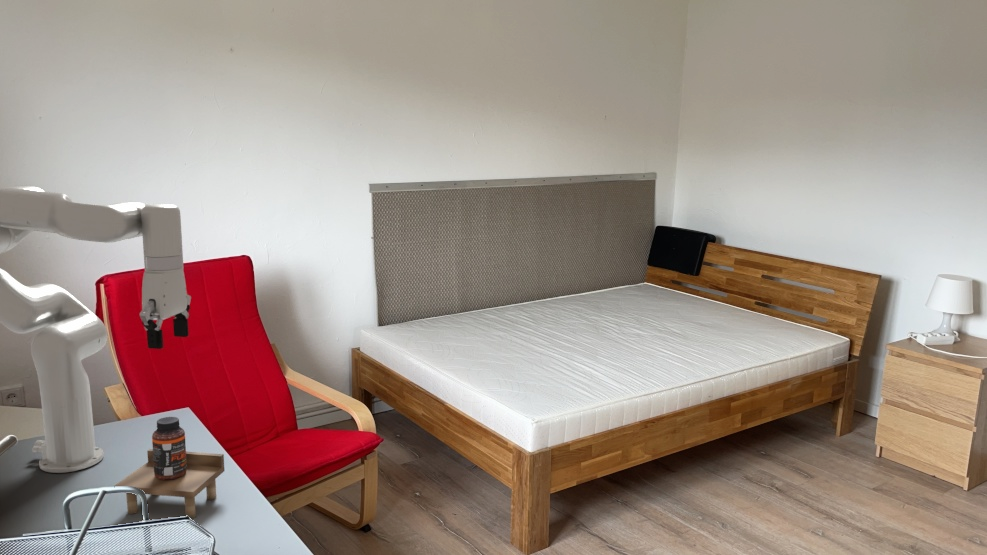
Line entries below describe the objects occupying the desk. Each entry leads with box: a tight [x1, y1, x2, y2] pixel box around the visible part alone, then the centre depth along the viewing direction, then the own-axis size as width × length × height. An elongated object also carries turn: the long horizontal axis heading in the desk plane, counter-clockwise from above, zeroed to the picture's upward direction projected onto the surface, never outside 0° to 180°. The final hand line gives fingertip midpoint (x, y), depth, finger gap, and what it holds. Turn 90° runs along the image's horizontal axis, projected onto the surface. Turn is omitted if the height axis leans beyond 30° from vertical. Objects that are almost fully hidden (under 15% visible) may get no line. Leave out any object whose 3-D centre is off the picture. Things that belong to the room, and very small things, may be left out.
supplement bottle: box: [151, 416, 187, 480], centre depth 150 cm, size 6×6×11 cm
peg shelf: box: [114, 448, 225, 520], centre depth 151 cm, size 16×12×9 cm
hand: (168, 342), depth 165 cm, fingers open, 9 cm apart
